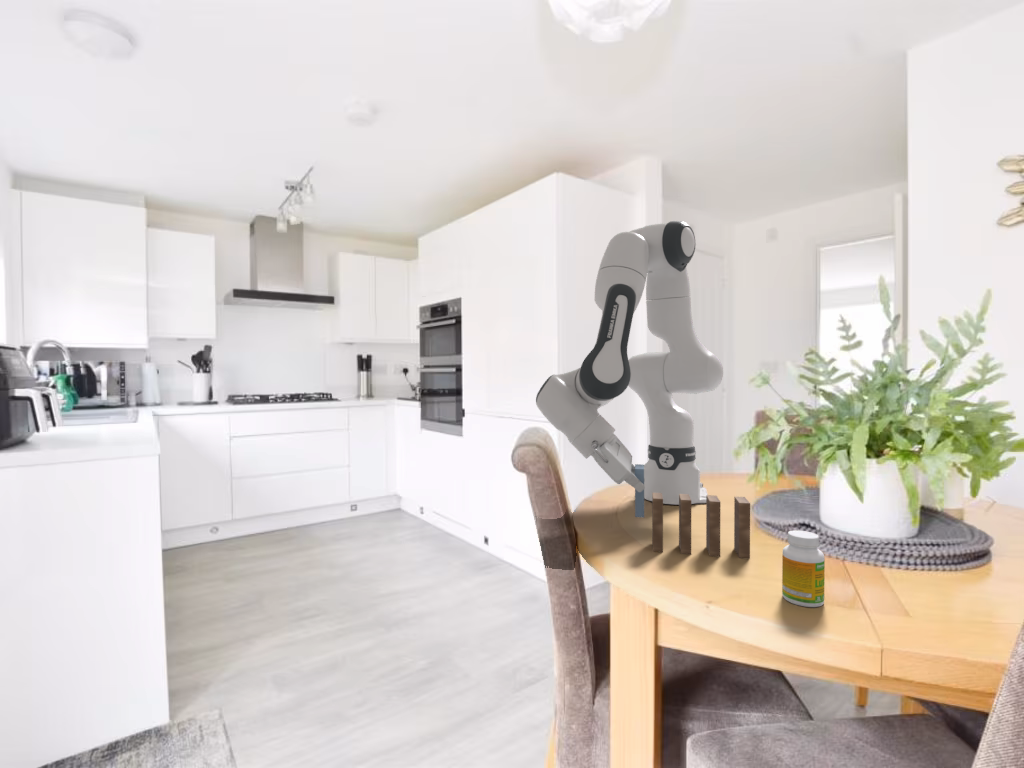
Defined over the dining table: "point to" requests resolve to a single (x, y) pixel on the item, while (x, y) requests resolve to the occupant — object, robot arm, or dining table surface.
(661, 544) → the domino
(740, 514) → the domino
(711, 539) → the domino
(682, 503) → the domino
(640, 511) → the domino
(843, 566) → the dining table surface
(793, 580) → the supplement bottle
